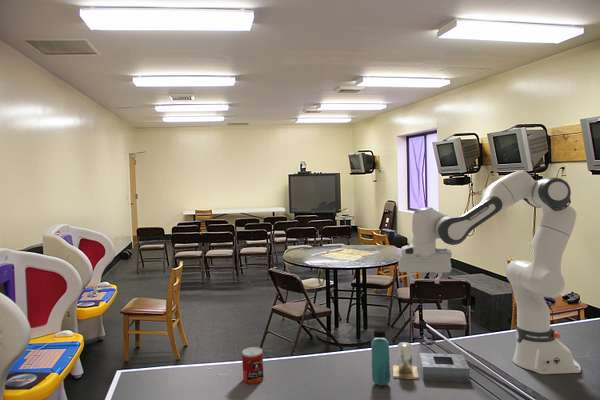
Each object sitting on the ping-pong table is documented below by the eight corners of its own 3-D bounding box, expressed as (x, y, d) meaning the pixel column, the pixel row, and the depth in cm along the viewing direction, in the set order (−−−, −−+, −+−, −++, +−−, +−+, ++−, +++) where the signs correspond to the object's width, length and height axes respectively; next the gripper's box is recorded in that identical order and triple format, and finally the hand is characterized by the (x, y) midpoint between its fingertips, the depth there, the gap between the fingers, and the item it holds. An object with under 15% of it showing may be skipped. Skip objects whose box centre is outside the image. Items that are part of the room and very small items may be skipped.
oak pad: (416, 368, 166) (416, 366, 166) (418, 379, 157) (418, 377, 157) (392, 367, 168) (392, 365, 168) (393, 378, 159) (393, 375, 159)
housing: (463, 367, 166) (462, 354, 165) (469, 382, 154) (469, 368, 154) (419, 365, 168) (419, 353, 168) (423, 380, 157) (422, 366, 156)
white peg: (412, 368, 165) (411, 342, 164) (413, 374, 160) (412, 348, 159) (398, 367, 166) (397, 342, 165) (398, 373, 160) (398, 347, 160)
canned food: (247, 386, 156) (246, 357, 156) (240, 377, 164) (238, 349, 163) (267, 381, 160) (265, 352, 159) (259, 373, 167) (257, 345, 166)
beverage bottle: (386, 390, 150) (385, 334, 149) (368, 386, 153) (367, 331, 152) (393, 382, 155) (392, 328, 154) (375, 378, 159) (374, 325, 158)
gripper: (450, 247, 172) (450, 281, 173) (397, 247, 176) (398, 280, 177) (452, 249, 166) (453, 285, 167) (398, 250, 170) (399, 284, 171)
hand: (424, 283), depth 172 cm, fingers open, 8 cm apart
